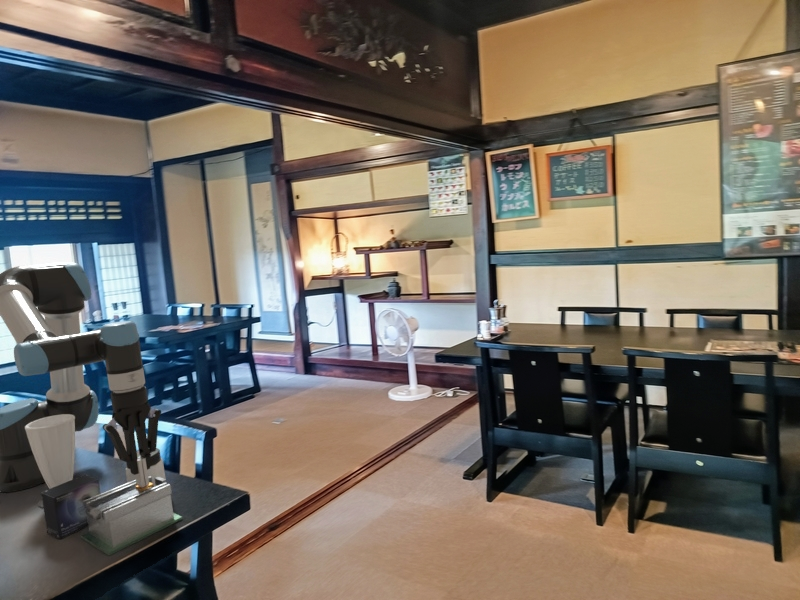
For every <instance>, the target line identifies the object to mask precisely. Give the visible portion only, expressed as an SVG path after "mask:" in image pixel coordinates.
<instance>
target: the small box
mask: <svg viewBox="0 0 800 600" xmlns="http://www.w3.org/2000/svg"><path fill="white" fill-rule="evenodd" d="M99 494H101V490H100V482H99V479H98V478H96V477H94V476H91V475H87V474H83V475H80V476H77V477H76V478H73V479H72V480H70V481H68V482H65V483H63V484H60V485H58V486H55V487H53V488H50V489H49V488H48V489H46V490H43V491H41V492H40V495H41V499H42V500H43V507H44V508H43V515H44V519H45V526H46V534H47V535H49V536H51V537H54V538H56V539H58V540H62V539H64V538H66V537H68V536H70V535H72V534H74V533H77V532H78V531H81V530H83V529H84V528H87V527H88V520H87V514H86V511H84V507H83V501H84V500H87V499H89V498H91V497H94V496H96V495H99Z"/></svg>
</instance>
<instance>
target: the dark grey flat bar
mask: <svg viewBox="0 0 800 600" xmlns="http://www.w3.org/2000/svg"><path fill="white" fill-rule="evenodd" d="M135 487H136V489H134V490H132V491H130V492H128V493H126V494H123V495H121V496H119V497H117V498H115V499H113V500H111V501H109V502H106V503H104V504H102V505H100V506H98V507H96V508H94V507H92V506H90V507H88V508H87V509H86V514H87V516H89V517H91V518H94V519H96V520H99V519H101V515H100V510H102V509H105V508H107V507H109V506H112V505H114V504H116V503H119V502H121V501H123V500H126V499H128V498H130V497H132V496H135V495H137V494H139V493H142V492H144V491H146V490H149V489H151V488H153V487H154V486H153V483H150V482H149V485H147V486H146V485H145V487H140V486H138V485H137V486H135Z"/></svg>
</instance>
